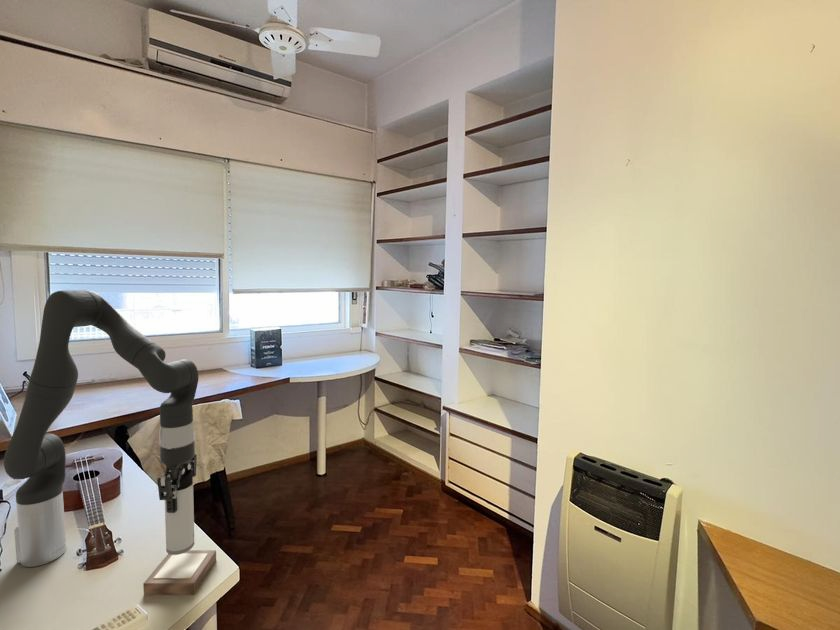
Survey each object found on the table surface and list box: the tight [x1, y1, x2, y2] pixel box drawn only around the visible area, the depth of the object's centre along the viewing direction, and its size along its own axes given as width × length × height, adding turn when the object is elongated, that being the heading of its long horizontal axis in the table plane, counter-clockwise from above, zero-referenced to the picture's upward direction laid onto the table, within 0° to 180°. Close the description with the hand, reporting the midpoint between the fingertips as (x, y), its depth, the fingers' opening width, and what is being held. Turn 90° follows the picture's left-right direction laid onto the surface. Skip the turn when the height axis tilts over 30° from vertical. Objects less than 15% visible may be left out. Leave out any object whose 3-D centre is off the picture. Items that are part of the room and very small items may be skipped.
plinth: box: [142, 549, 217, 596], centre depth 107 cm, size 12×12×3 cm
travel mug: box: [164, 467, 195, 555], centre depth 105 cm, size 6×7×20 cm
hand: (179, 504), depth 105 cm, fingers closed on travel mug, 6 cm apart
